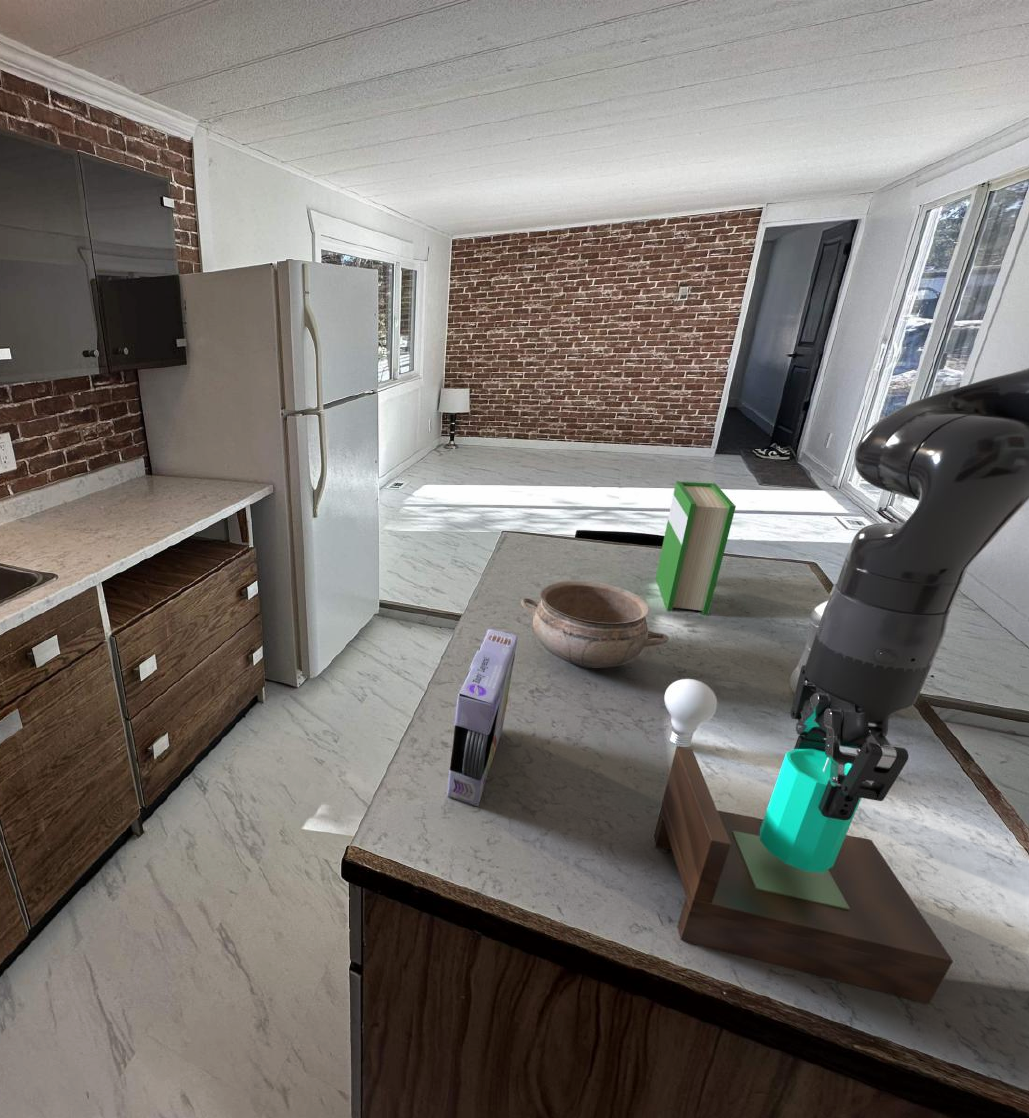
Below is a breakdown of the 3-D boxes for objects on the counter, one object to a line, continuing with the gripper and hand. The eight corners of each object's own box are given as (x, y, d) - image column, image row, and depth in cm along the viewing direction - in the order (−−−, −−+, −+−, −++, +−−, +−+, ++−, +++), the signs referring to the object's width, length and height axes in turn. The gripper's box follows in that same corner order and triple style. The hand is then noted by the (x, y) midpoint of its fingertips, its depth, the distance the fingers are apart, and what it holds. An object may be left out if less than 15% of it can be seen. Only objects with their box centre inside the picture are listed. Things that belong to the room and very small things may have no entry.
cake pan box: (479, 815, 78) (492, 703, 72) (442, 802, 81) (450, 693, 74) (506, 730, 94) (519, 632, 87) (474, 721, 96) (483, 625, 89)
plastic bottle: (842, 714, 94) (885, 600, 86) (787, 701, 97) (824, 591, 90) (835, 693, 99) (875, 584, 91) (783, 682, 102) (818, 576, 95)
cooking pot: (497, 658, 113) (503, 600, 108) (534, 620, 126) (541, 567, 121) (645, 707, 97) (660, 642, 93) (670, 658, 110) (684, 599, 106)
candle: (769, 862, 60) (803, 768, 55) (751, 818, 65) (780, 729, 60) (844, 880, 58) (886, 783, 53) (819, 833, 63) (855, 741, 58)
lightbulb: (652, 726, 93) (667, 666, 89) (701, 737, 90) (718, 675, 86) (656, 752, 88) (671, 689, 84) (707, 763, 85) (725, 699, 81)
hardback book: (707, 615, 125) (735, 506, 116) (667, 610, 128) (691, 503, 119) (691, 582, 140) (715, 483, 131) (655, 578, 142) (676, 481, 133)
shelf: (854, 878, 67) (896, 782, 62) (929, 1004, 55) (990, 898, 50) (653, 836, 74) (676, 746, 69) (680, 940, 62) (711, 840, 57)
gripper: (987, 696, 45) (908, 859, 51) (883, 611, 57) (830, 750, 63) (861, 680, 47) (801, 838, 53) (788, 602, 60) (746, 737, 66)
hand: (817, 790), depth 58 cm, fingers closed on candle, 6 cm apart
